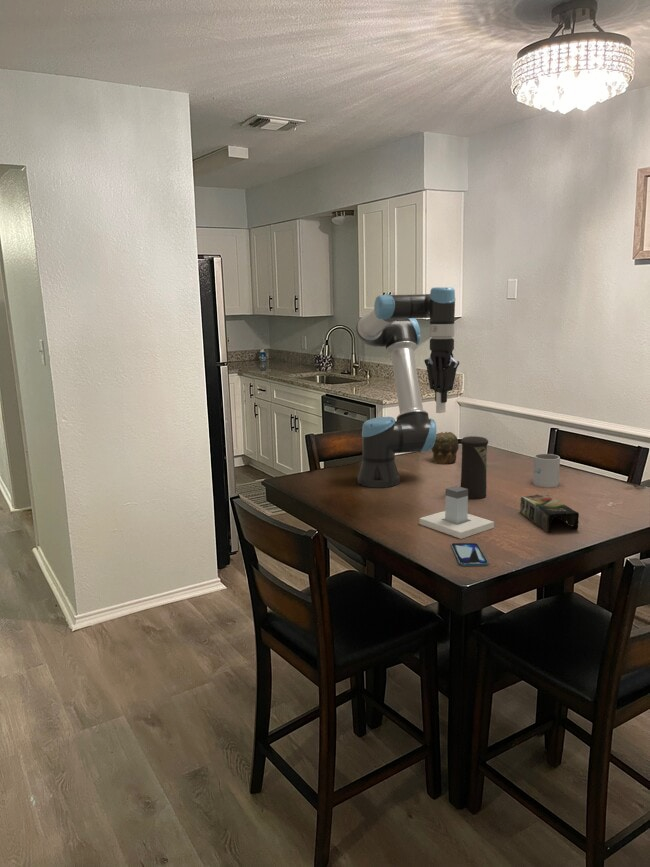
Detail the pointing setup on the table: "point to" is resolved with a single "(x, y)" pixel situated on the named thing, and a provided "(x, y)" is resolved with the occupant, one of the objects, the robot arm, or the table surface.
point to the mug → (546, 470)
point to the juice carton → (547, 511)
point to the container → (474, 466)
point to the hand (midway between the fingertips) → (440, 412)
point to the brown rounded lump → (445, 448)
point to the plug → (456, 505)
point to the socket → (459, 531)
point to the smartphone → (469, 554)
